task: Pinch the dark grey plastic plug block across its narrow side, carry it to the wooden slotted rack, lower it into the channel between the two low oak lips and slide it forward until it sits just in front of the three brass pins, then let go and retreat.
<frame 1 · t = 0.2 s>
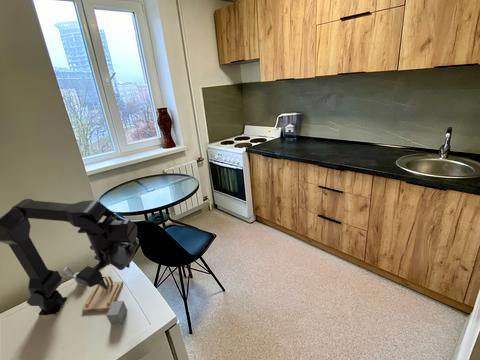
hand: (117, 277, 82), 14 cm above the table, fingers open, 9 cm apart
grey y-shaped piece: (79, 283, 99), on the table
wooden slotted rack: (103, 298, 92), on the table
plug block: (119, 317, 85), on the table
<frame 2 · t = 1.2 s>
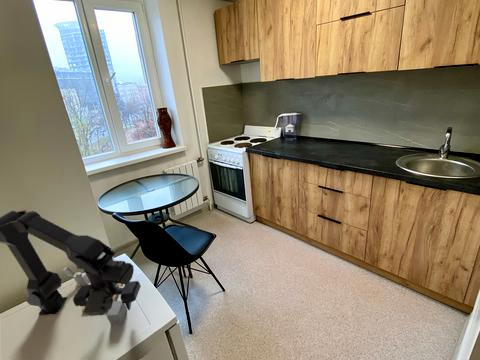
hand: (115, 309, 83), 4 cm above the table, fingers open, 9 cm apart
nothing on the table moved.
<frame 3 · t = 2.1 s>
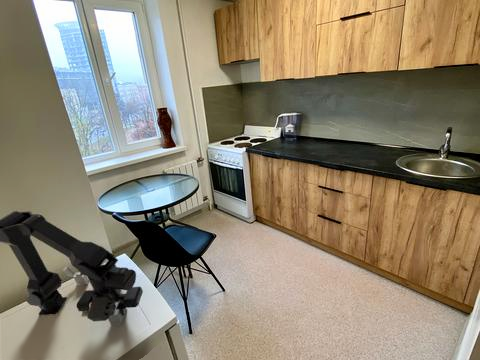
hand: (118, 314, 84), 1 cm above the table, fingers closed on plug block, 3 cm apart
plug block: (119, 317, 85), on the table, touching gripper
everything else where it was.
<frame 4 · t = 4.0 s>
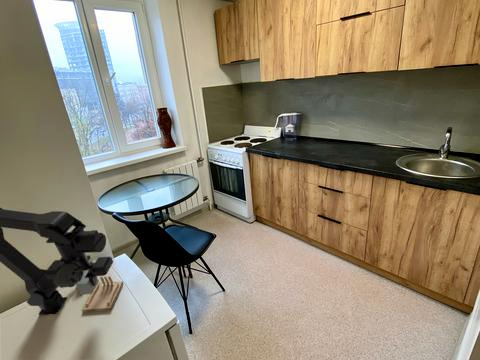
hand: (89, 285, 84), 11 cm above the table, fingers closed on plug block, 3 cm apart
plug block: (90, 287, 85), point 9 cm above the table, touching gripper
everything else where it was.
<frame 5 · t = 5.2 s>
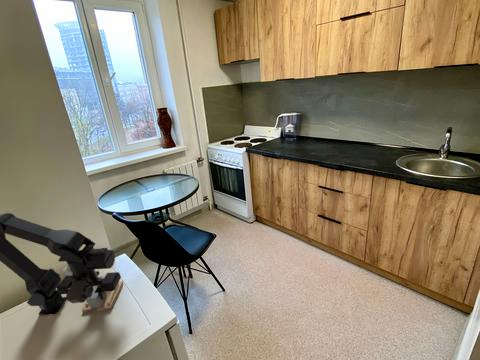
hand: (98, 299, 88), 3 cm above the table, fingers closed on plug block, 3 cm apart
plug block: (99, 301, 89), point 1 cm above the table, touching gripper
everything else where it was.
when the fingers open (3 cm above the table, at t = 6.1 s): plug block stays where it is, resting on wooden slotted rack.
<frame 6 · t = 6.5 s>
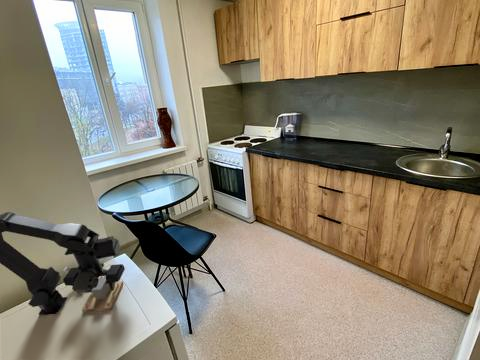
hand: (102, 290, 91), 3 cm above the table, fingers open, 8 cm apart
plug block: (103, 293, 92), point 1 cm above the table, touching wooden slotted rack
everything else where it was.
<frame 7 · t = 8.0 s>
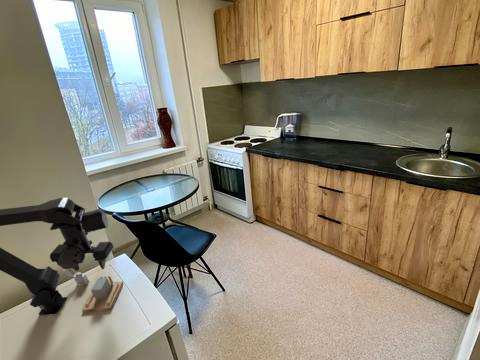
hand: (90, 269, 89), 12 cm above the table, fingers open, 9 cm apart
nothing on the table moved.
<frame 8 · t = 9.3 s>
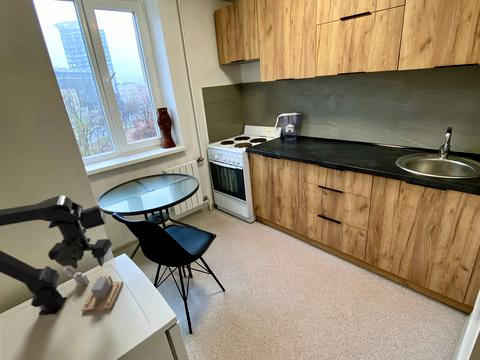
hand: (89, 266, 90), 12 cm above the table, fingers open, 9 cm apart
nothing on the table moved.
at the end: plug block 0.4 cm from the target spot, point 1.2 cm above the table; plug block tilted 0°; the gripper is holding nothing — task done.
